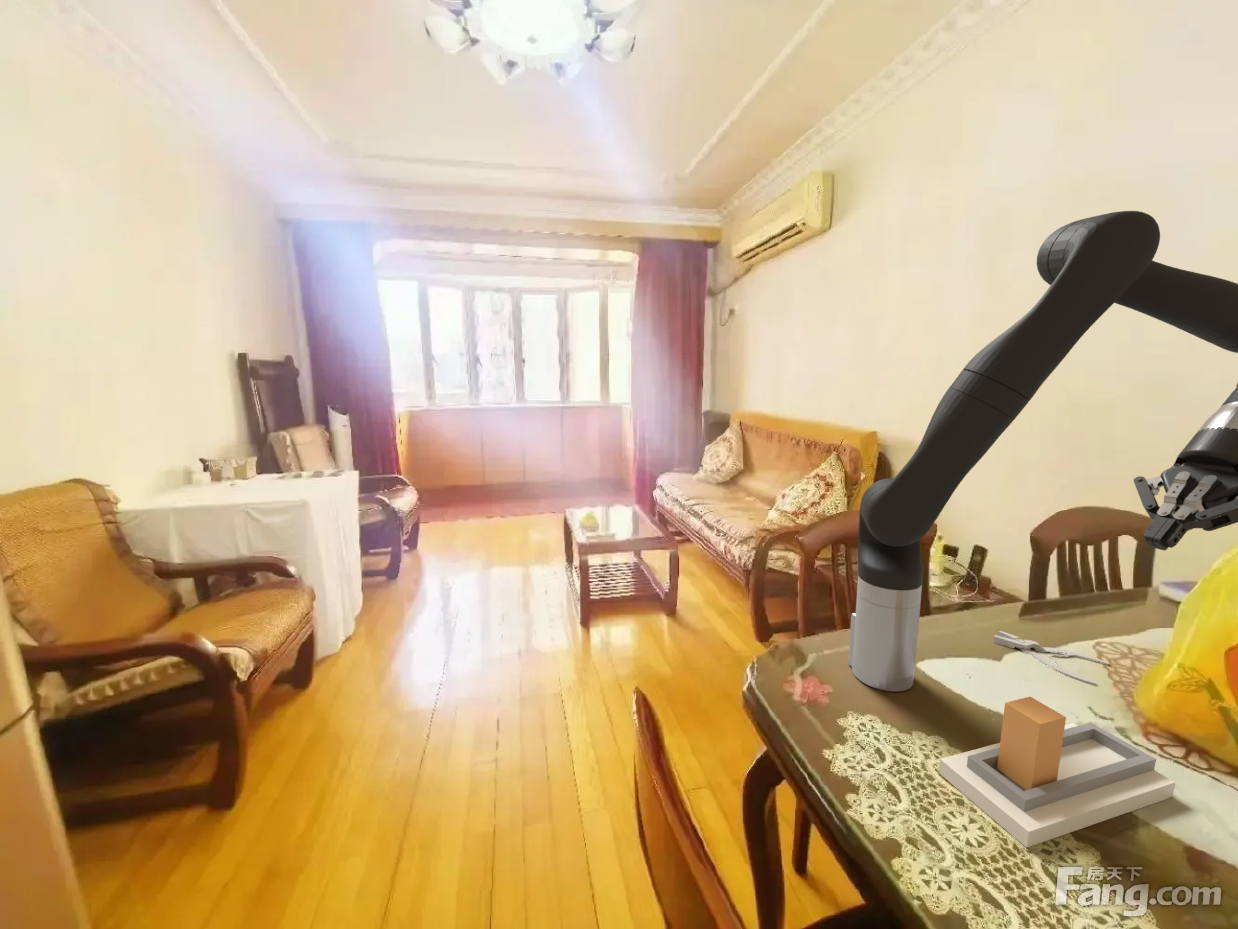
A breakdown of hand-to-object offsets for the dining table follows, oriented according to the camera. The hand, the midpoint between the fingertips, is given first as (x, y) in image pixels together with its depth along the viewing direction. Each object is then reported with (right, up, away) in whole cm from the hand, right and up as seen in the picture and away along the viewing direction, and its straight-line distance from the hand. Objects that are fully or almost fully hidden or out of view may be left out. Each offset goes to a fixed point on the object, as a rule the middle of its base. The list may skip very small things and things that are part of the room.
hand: (1154, 545), depth 66 cm
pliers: (+7, -24, +26) cm, 36 cm away
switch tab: (-20, -27, -4) cm, 34 cm away
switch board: (-15, -29, -3) cm, 33 cm away
